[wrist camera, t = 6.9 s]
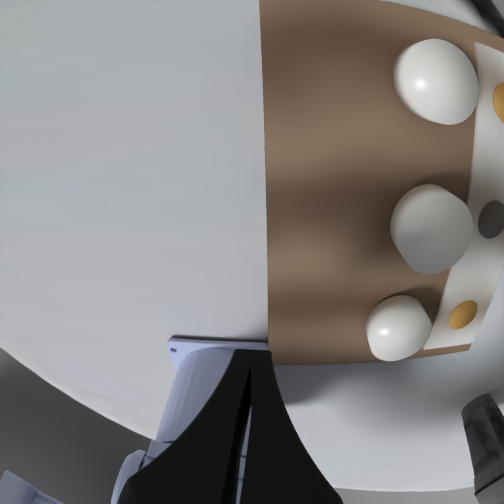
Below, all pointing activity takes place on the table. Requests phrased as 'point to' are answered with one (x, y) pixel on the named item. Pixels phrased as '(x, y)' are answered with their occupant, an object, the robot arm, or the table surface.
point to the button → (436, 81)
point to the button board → (369, 177)
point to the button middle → (431, 228)
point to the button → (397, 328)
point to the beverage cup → (486, 448)
